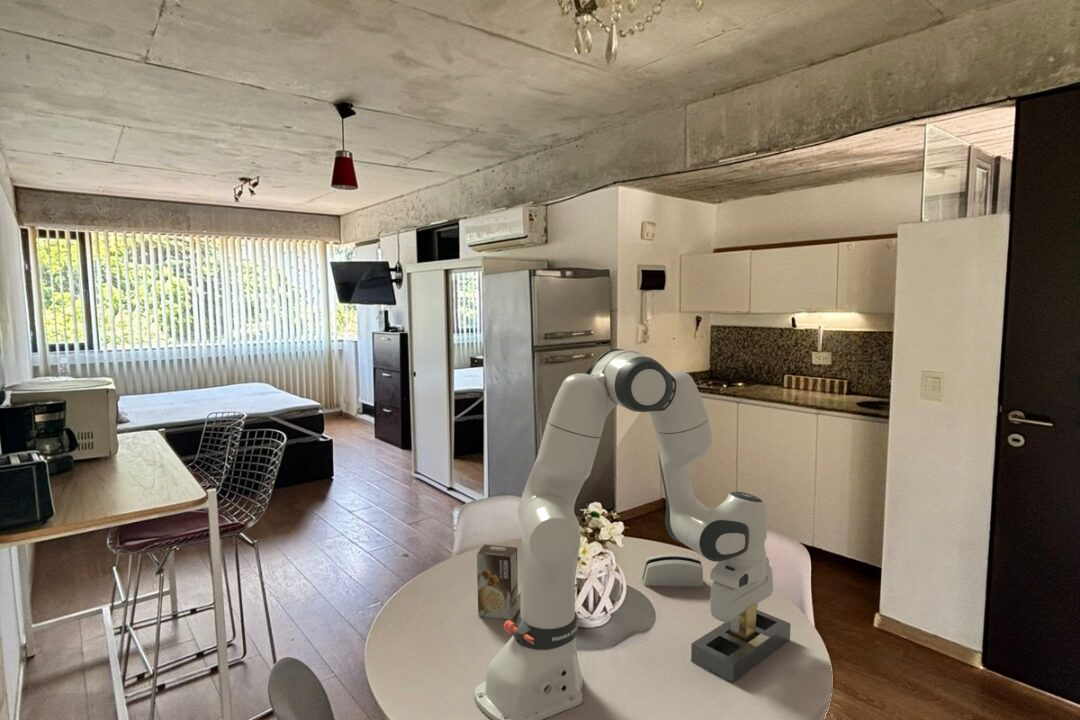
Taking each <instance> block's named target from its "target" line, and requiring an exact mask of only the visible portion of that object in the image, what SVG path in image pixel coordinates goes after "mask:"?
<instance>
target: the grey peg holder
mask: <svg viewBox="0 0 1080 720" xmlns="http://www.w3.org/2000/svg"><path fill="white" fill-rule="evenodd" d="M729 634H730V621H729V622H727V623H725V622H722V624H720V625H719V626H717V627H715V628H714V629H712V630H711V631H709V632H708V633H706V634H704V635H703V636H701V637H699V638H698V639H697V640H694V641H693V642H691V647H690V648H691V651H690V652H691V653H690V661H691V663H694V664H695V663H696V665H698V666H700V667H701V668H703V669H705V670H707V671H709V672H711V673H712V674H715V675H717V676H718V677H720V678H721V679H724V680H726V681H728V682H730V683H732V684H734V683H735V682H737V681H738V680H740V678H742V677H743V676H744V675H746V674H748V673H749V672H750V671H751V670H752V669H754V668H755V667H757V666H758V665H760V663H762V662H763V661H764V660H766V659H767V658H769V656H771V655H773V654H774V653H775V652H776V651H777V650H779V649H780V648H782V647H783V646H784V645H785V644H787V643H788V642H789V641H790V640H791V622H789V621H786V620H783V619H782V618H781V619H780V618H778V617H776V616H773V615H771V614H769V613H766V612H764V611H761V610H759V609H757V610H756V637H755V638H754V639H752V640H751V641H749V642H748V643H746V642H744V641H742V640H740V639H738V638H736V637H733V636H731V635H729Z"/></svg>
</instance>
